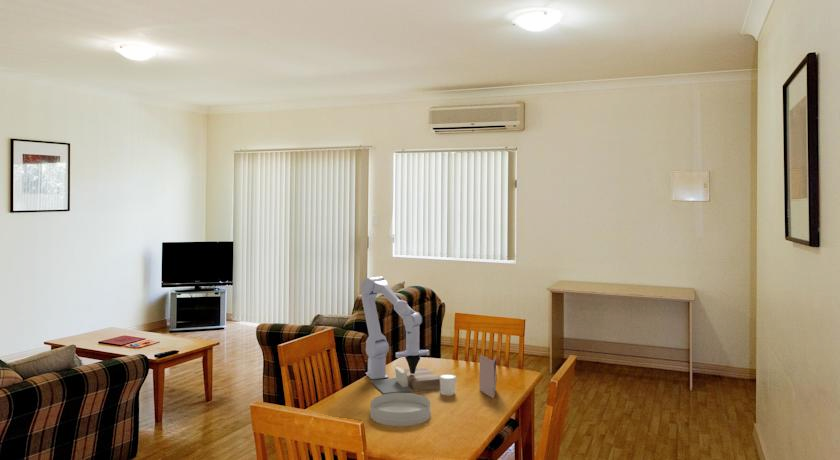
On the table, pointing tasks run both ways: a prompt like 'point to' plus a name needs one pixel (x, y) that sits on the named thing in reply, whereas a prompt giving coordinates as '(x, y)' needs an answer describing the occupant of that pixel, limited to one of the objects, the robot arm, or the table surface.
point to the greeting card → (488, 376)
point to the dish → (400, 409)
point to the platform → (422, 379)
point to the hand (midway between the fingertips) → (412, 373)
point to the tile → (401, 377)
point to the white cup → (447, 384)
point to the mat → (390, 386)
